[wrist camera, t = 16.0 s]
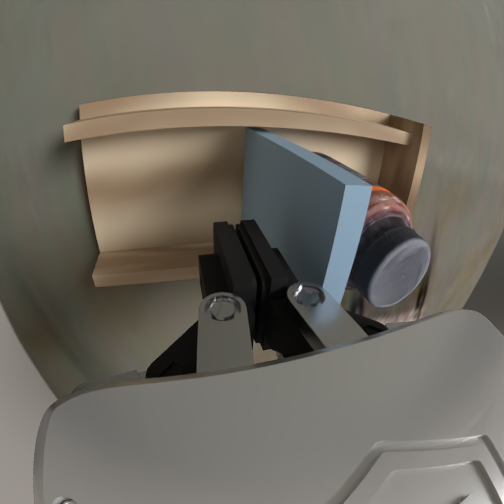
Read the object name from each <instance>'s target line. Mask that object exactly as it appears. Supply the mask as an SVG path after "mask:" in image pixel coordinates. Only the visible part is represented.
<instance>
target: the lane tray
mask: <svg viewBox="0 0 504 504" xmlns="http://www.w3.org/2000/svg"><path fill="white" fill-rule="evenodd" d="M79 110H80V120H77V121H74V122H72V123H69V124H66V125H63V130H64V142H69V141H74V140H80V139H81V143H82V153H83V162H84V170H85V178H86V185H87V191H88V197H89V203H90V208H91V214H92V219H93V224H94V228H95V233H96V237H97V242H98V246H99V250H100V254H99V257H98V259H97V262H96V265H95V268H94V271H93V274H92V278H93V281H94V284H95V287H106V286H119V285H131V284H143V283H154V282H166V281H177V280H187V279H198V278H200V276H199V263H198V255H204V254H214V245H213V222H223V221H227V222H228V224H233V226H234V229H235V226H236V224H240V221H241V217H242V196H243V176H244V157H245V138H246V127H251V128H262V129H265V130H267V131H269V132H271V133H274V134H276V135H278V136H280V137H282V138H284V139H287V140H289V141H291V142H293V143H295V144H297V145H299V146H301V147H303V148H305V149H307V150H309V151H311V152H319V153H323V154H325V155H327V156H329V157H331V158H333V159H335V160H337V161H339V162H341V163H342V164H344V165H346V166H348V167H349V168H351V169H353V170H355V171H357V172H358V173H360V174H362V175H363V176H365V177H367V178H368V179H370V180H372V181H374V182H375V183H377V184H378V185H380V186H382V187H383V188H385V189H386V190H388V191H389V192H391V193H392V194H394V195H395V196H397V197H398V198H399V199H400V200H401V201H402V202H403V203H404V204H405V205H406V207H407V209H408V211H409V213H410V216H411V215H412V212H413V208H414V205H415V201H416V198H417V194H418V190H419V186H420V182H421V178H422V174H423V170H424V165H425V161H426V156H427V151H428V146H429V141H430V135H431V129H432V127H430V126H428V125H425V124H421V123H418V122H415V121H411V120H408V119H404V118H400V117H397V116H393V115H389V114H385V113H381V112H377V111H373V110H369V109H364V108H360V107H355V106H351V105H346V104H340V103H335V102H329V101H323V100H317V99H310V98H303V97H295V96H286V95H276V94H264V93H248V92H177V93H162V94H150V95H140V96H131V97H124V98H117V99H110V100H104V101H98V102H93V103H88V104H83V105H79Z"/></svg>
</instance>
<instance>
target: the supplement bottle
mask: <svg viewBox="0 0 504 504" xmlns="http://www.w3.org/2000/svg"><path fill="white" fill-rule="evenodd" d="M313 153H315V154H317V155H319V156H321V157H322V158H324V159H326V160H328V161H330V162H332V163H334V164H335V165H337V166H339V167H341V168H343V169H344V170H346V171H348V172H350V173H351V174H353V175H355V176H357V177H358V178H360V179H362V180H363V181H365V182H367V183H368V184H370V185H372V186H373V187H372V192H371V196H370V200H369V205H368V209H367V213H366V217H365V221H364V225H363V229H362V233H361V237H360V240H359V244H358V247H357V251H356V255H355V258H354V261H353V265H352V268H351V271H350V275H349V278H348V281H347V284H346V287H345V289H346V290H359V291H360V293H361V294H363V295H364V297H365V298H366V299H367V300H368V301H369V302H370V303H371V304H372V305H373V306H375V307H388V306H391V305H394V304H396V303H398V302H399V301H401V300H402V299H404V298H405V297H406V296H408V295H409V294H410V293H411V292H412V291H413V290H414V288H415V287H416V286H417V285H418V284H419V282H420V281H421V279H422V278H423V276H424V274H425V273H426V270H427V268H428V265H429V261H430V248H429V245H428V243H427V242H426V241H425V240H424V239H423V238H422V237H420V236H419V235H418V234H417V233H416V232H415V230H413V229H412V220H411V216H410V213H409V211H408V209H407V207H406V205H405V204H404V203H403V202H402V201H401V200H400V199H399V198H398V197H397V196H395V195H394V194H392V193H391V192H389V191H388V190H386V189H385V188H383V187H382V186H380V185H378V184H377V183H375V182H374V181H372V180H370V179H368V178H367V177H365V176H363V175H362V174H360V173H358V172H357V171H355V170H353V169H351V168H349V167H348V166H346V165H344V164H342V163H341V162H339V161H337V160H335V159H333V158H331V157H329V156H327V155H325V154H323V153H319V152H313Z"/></svg>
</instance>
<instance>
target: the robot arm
mask: <svg viewBox="0 0 504 504" xmlns="http://www.w3.org/2000/svg"><path fill="white" fill-rule="evenodd" d="M213 245H214V254H204V255H198V263H199V276H200V285H201V291H202V297H203V300H202V302H201V303H200V306H199V318H198V321H197V322H196V323H194V324H193V325H192V326H191V327H190V328H189V329H188V330H187V331H186V332H185V333H184V334H183V335H182V336H181V337H180V338H178V339H177V340H176V341H175V342H174V343H173V344H172V345H171V346H170V347H169V348H168V349H167V350H166V351H164V352H163V353H162V354H161V355H160V356H159V357H158V358H157V359H156V360H155V361H154V362H153V363H152V364H151V365H150V366H149V367H148V369H147V370H146V371H143V372H139V373H138V372H137V370H134V371H130V372H126V373H122V374H118V375H114V376H110V377H106V378H102V379H97V380H93V381H88V382H84V383H82V384H79V385H77V386H76V387H75V388H74V389H73V391H72V393H71V394H68V395H66V396H64V397H62V398H60V399H59V400H57V401H56V402H54V403H53V404H52V405H51V406H50V407H49V408H48V409H47V411H46V412H45V414H44V416H43V418H42V420H41V423H40V426H39V430H38V434H37V439H36V445H35V453H34V468H33V493H34V504H504V337H503V335H502V334H501V333H500V332H499V331H498V330H497V329H496V328H495V327H494V326H493V325H492V323H490V321H489V320H488V319H486V318H485V317H484V316H483V315H481V314H480V313H478V312H475V311H471V310H462V309H459V310H449V311H445V312H440V313H437V314H434V315H431V316H427V317H424V318H421V319H419V320H416V321H410V322H399V323H386V325H385V326H384V325H383V324H381V323H379V322H377V321H374V320H371V319H369V318H366V317H363V316H360V315H358V314H355V313H352V312H350V311H347V310H344V309H343V308H342V307H341V305H340V304H339V303H338V302H337V301H336V300H335V299H334V298H333V297H332V296H331V295H330V294H329V293H328V291H327V290H326V289H324V288H323V287H322V286H320V285H318V284H316V283H312V282H298V280H297V278H296V277H295V275H294V273H293V272H292V270H291V269H290V267H289V265H288V264H287V262H286V261H285V259H284V257H283V256H282V254H281V253H280V251H279V250H278V248H271V246H270V244H269V243H268V241H267V239H266V238H265V236H264V234H263V233H262V231H261V229H260V228H259V226H258V224H257V223H256V221H255V220H254V219H251V220H241V221H240V224H236V226H235V229H234V226H233V224H228V222H227V221H223V222H213ZM253 339H254V340H255V342H256V343H260V344H261V347H262V349H263V350H268V349H272V350H274V351H276V356H277V358H278V359H277V360H272V361H267V362H262V363H257V364H254V359H253V352H252V351H253Z"/></svg>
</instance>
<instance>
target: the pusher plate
mask: <svg viewBox="0 0 504 504" xmlns="http://www.w3.org/2000/svg"><path fill="white" fill-rule="evenodd" d="M372 187H373V186H372V185H370V184H368V183H367V182H365V181H363V180H362V179H360V178H358V177H357V176H355V175H353V174H351V173H350V172H348V171H346V170H344V169H343V168H341V167H339V166H337V165H335V164H334V163H332V162H330V161H328V160H326V159H324V158H322V157H321V156H319V155H317V154H315V153H313V152H311V151H309V150H307V149H305V148H303V147H301V146H299V145H297V144H295V143H293V142H291V141H289V140H287V139H284V138H282V137H280V136H278V135H276V134H274V133H271V132H269V131H267V130H265V129H262V128H251V127H246V138H245V157H244V176H243V196H242V217H241V220H251V219H254V220H255V221H256V223H257V224H258V226H259V228H260V229H261V231H262V233H263V234H264V236H265V238H266V239H267V241H268V243H269V244H270V246H271V248H278V250H279V251H280V253H281V254H282V256H283V257H284V259H285V261H286V262H287V264H288V265H289V267H290V269H291V270H292V272H293V273H294V275H295V277H296V278H297V280H298V282H312V283H316V284H318V285H320V286H322V287H323V288H324V289H326V290H327V291H328V293H329V294H330V295H331V296H332V297H333V298H334V299H335V300H336V301H337V302H338V303H339V304H340V302H341V299H342V296H343V293H344V290H345V287H346V284H347V281H348V278H349V275H350V271H351V268H352V265H353V261H354V258H355V255H356V251H357V247H358V244H359V240H360V237H361V233H362V229H363V225H364V221H365V217H366V213H367V209H368V205H369V200H370V196H371V192H372Z"/></svg>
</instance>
